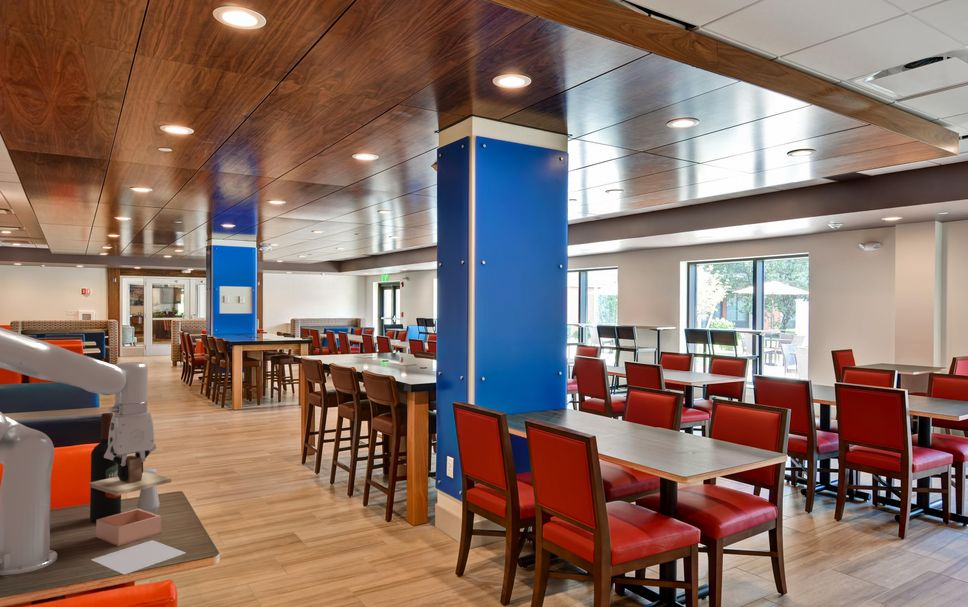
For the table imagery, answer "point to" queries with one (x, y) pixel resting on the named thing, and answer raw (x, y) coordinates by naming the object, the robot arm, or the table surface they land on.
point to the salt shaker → (149, 496)
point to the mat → (138, 557)
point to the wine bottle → (103, 476)
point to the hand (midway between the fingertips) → (130, 477)
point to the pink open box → (128, 527)
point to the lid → (130, 479)
